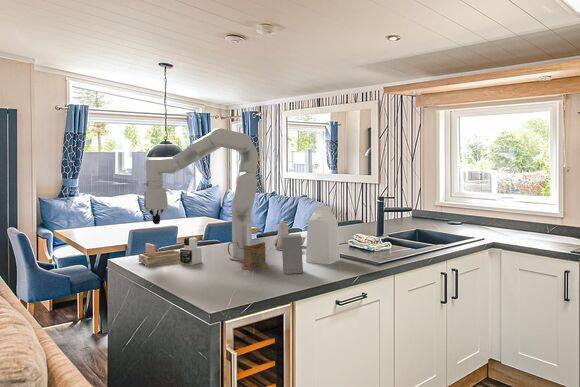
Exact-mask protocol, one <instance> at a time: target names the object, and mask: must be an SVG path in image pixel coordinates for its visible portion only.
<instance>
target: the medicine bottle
mask: <svg viewBox="0 0 580 387" xmlns="http://www.w3.org/2000/svg"><path fill="white" fill-rule="evenodd" d="M179 251H180V262H179V263H180V265H187V266H188V265H189V266H194V265H196V264H201V263H202V256H203V255H202V247H200V246H198V239H197V237H189V236H188V237H185V238H183V247H182V248H179Z"/></svg>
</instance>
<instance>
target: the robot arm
mask: <svg viewBox="0 0 580 387" xmlns="http://www.w3.org/2000/svg"><path fill="white" fill-rule="evenodd" d="M220 148H225V149H229V150H233V151H236V152H238V153H239V156H240V161H239V168H238V173H237V177H236V179H235V180H236V181H235V183H236V186H235V192H234V196H233V197H232V199H231V203H230V209H231V234H232V235H231V239H232V240H231V242H234V241H238V245H239V247H240V248H244V247H243V246H251V245H253V237H252V236H253V235H252V232H253V231H252V230H253V229H252V226H253V224H252V210H253V207H254V203H255V199H256V193H257V188H258V178H257V171H258V165H259V164H258V163H259V154H258V150H257V148H256V145H255V144H254V143H253V140H252V138H251V137H250V135H249V134H246V133H243V132H238V131H235V130H232V129H231V130H229V129H225V128H222V127H217V128H214V129H213V130H212V131H211V132H209V133H208V134H206V135H203V136H202V137H200V138H199V139H197V140H195V141H193V142H192V143H190V144H189V145H188V146H187V147H186V148H184V149H183V150H182V151H180V152H179V153H177V154H175V155H174V156H171V157H166V158H147V159H146V160H145V182H143V186H144V187H146V188H144V194H143V207H144V210H143V212H144V213H149V214H150V215H151V216H152V223H153V224H154V225H160V222H161V215H162V213H163V212H165V211H166V212H167V211H168V206H169V205H168V204H169V202H168V201H169V200H168V196H167V194H168V193H167V190H166V187H164V176H163V175H164V174H168V175H172V174H176V173H178V172H179V171H181V170H183V169H186V167H189V166H190V165H192V164H193V163H195V162H198V161H200V160H202V159H203V158H205V157H207V156H208V155H210V154H212V153H213V152H215V151H217V150H219V149H220ZM231 244H232V247H231V248H232V254H231V256H234V257H237V258H238V259H239V260H241V261H244V249H240V248H238V246H237V242H235V243H231ZM231 256H230V255H229V257H228V258H229V259H230V260H232V261H239V260H238V259H237V258H234V257H231Z"/></svg>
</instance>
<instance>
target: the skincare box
mask: <svg viewBox="0 0 580 387" xmlns="http://www.w3.org/2000/svg"><path fill="white" fill-rule="evenodd" d="M302 237H303V236H302V234H301V233H292V234H290V233H289V235H282V250H281V253H282V254H281V256H282V272H283V275H293V274H303V273H304V266H303V248H302V247H303V244H302Z"/></svg>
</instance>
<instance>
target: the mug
mask: <svg viewBox="0 0 580 387" xmlns="http://www.w3.org/2000/svg"><path fill="white" fill-rule="evenodd" d="M235 242H237V246H238V248H240V247H239V245H238V241H234V242H232V241H231V242H228V244H227V252H228V255H229V257H230V256H231V255H232V254H231V252H230V245H231V244H232V243H235ZM243 247H244V248H240V249H244V260H239V259H238V258H237V257H234V256H231V257H234V258H237V259H238V260H237V261H240V262H241V263H243V264H242V265H241V269H243V270H249V271H257V270H264V269H267V268H268V267H269V265H268V264H267V263H266V261H267V259H266V242H264V241H263V242H260V243H256V244H252V245H251V246H243Z"/></svg>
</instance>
